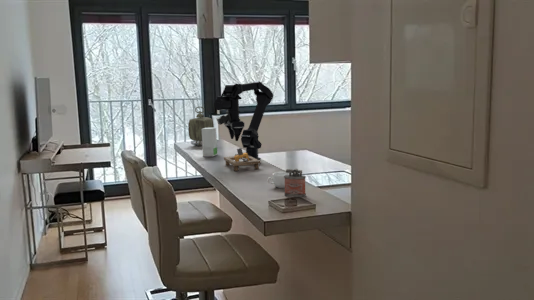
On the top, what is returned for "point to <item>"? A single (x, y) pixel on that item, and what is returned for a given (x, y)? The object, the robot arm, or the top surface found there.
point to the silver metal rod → (243, 158)
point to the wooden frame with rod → (241, 162)
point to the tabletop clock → (199, 126)
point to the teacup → (278, 179)
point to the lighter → (294, 183)
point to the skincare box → (209, 142)
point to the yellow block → (240, 155)
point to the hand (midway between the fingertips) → (234, 139)
